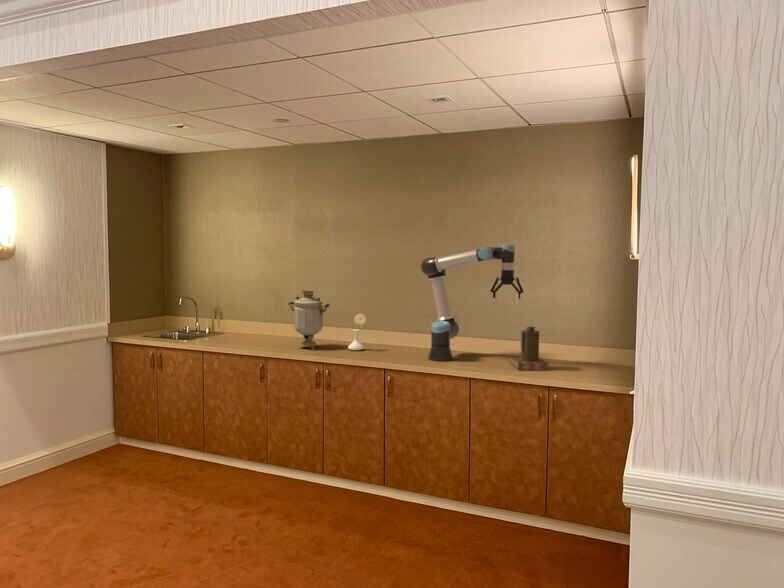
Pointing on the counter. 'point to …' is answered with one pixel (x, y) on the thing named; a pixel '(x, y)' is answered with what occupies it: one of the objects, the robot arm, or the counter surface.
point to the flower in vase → (356, 344)
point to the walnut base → (529, 364)
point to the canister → (530, 345)
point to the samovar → (308, 317)
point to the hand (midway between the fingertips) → (506, 303)
